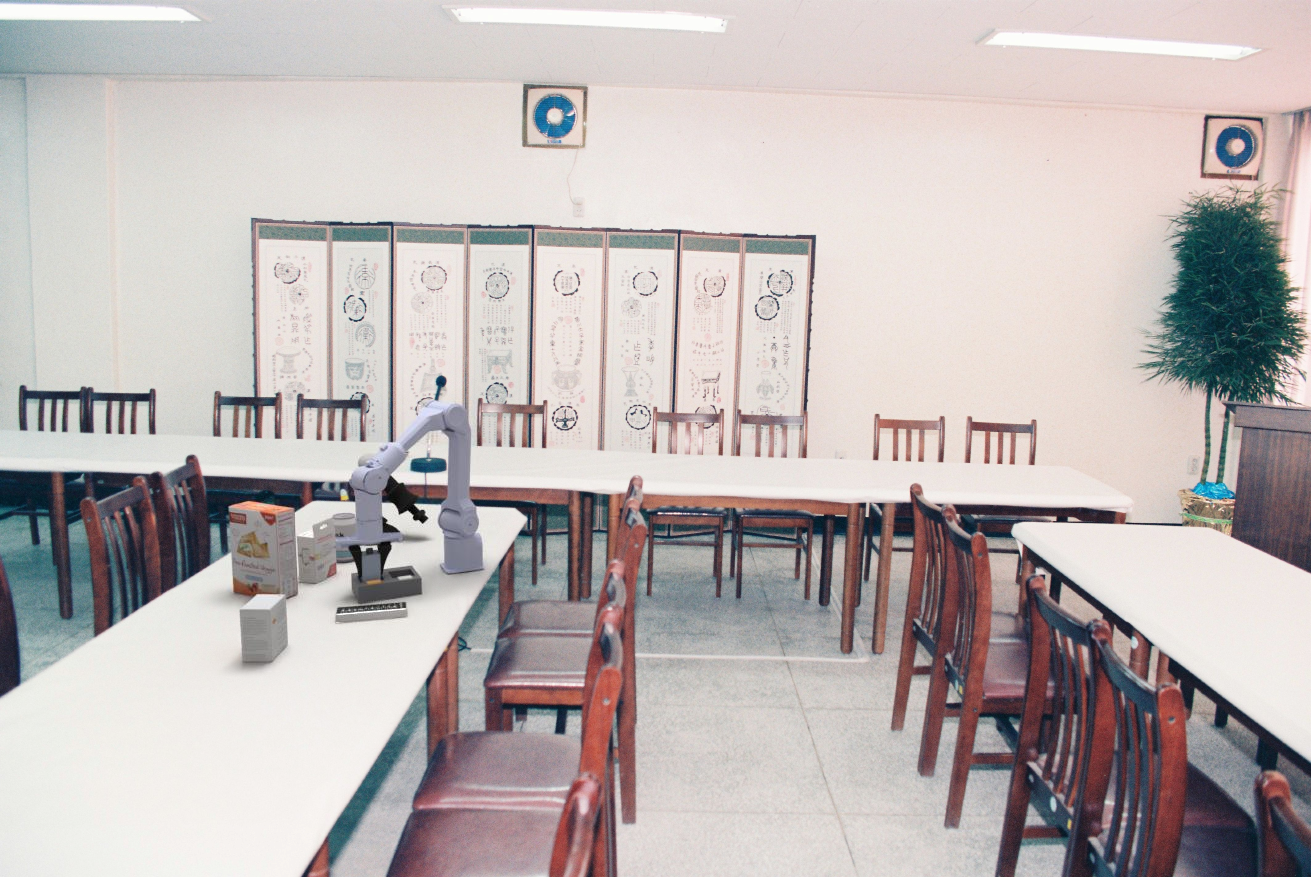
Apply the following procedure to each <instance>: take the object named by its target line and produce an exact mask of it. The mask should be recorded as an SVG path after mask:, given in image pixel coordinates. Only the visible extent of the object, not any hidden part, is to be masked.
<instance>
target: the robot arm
mask: <svg viewBox="0 0 1311 877" xmlns="http://www.w3.org/2000/svg"><path fill="white" fill-rule="evenodd" d="M434 431H436V432H437V431H441V432H442V433H443V434H444V435H445V436H447V437H448V454H447V455H448V457H447V458H448V460H447V492H446V493H447V495H446V498H445V499H444V500H443V501H442V502H441V504H440V512H439V514H438V516H437V525H438V527H439V529H441V530H442V534H443V552H444V554H443V556H444V557H443V559H444V560H443V562H441V563H439V566H440V567H441V568H442V570H443V571H444V572H445V573H446V574H449V575H450V574H457V573H464V572H471V571H472V572H473V571H480V570H484V565H483V563H484V561H483V560H484V559H483V558H484V557H483V552H484V550H483V549H484V548H483V547H484V545H483V539H482V535H481V533H479V532H477V531H478V529H479V524H480V520H479V517H478V513H477V506H476V505H475V504H474V501H472V500H471V499H470V489H471V488H470V486H471V482H470V481H471V458H472V457H471V452H472V451H471V450H472V429H471V426H470V423H469V410H467V409H466V408H465V407H464V406H463V405H462V404H460V403H458V402H457V403H456V402H454V403H451V402H447V401H446V402H445V401H439V400H435V399H433V400H429V401H428V402H426V403H425V404H424V406H423V407H421V408H420V409H419V411H418V415H417V416H416V417H415V418H414V420H413V421H412V422H411V423H410V424H409V425H408V427H407V428H406V429H405V430H404V431H403V433H402V434H400V436H399V437H398V438H397V439H396V440H395V441H394V442H386V443H385V444H382V445H381V446H379V450H378V451H377V452H376V453H374V454H375V455H374V456H373V457H372V458H371V459H370V460H368V461H367V462H366V464H365V466H362V467H359V466H358V467H356V468H355V469H354V470H353V472H352V473H351V476H350V478H349V479H348V482H349V485H350V487H351V488H352V489H353V491H354V492H353V494H354V496H355V497H354V499H355V500H354V501H355V502H354V504H355V506H354V507H355V517H356V536H351V537H346V538H341V539H335V542H336V549H342V548H347V547H348V549H349V551H350V553H351V555H352V557H353V559H354V560H353V561H354V564H355V567H356V571H357V572H358V576H359V578H360V577H362V551H363V550H362V548H361V547H363V546H365V545H369V546H375V545H374V544H377V545H376V546H377V550H378V552H379V553H380V565H381V575H383V569H385V565H386V562H387V560H388V556H389V555H390V552H391V551H392V548H393V547H392V546H393V545H392V543H403V542H404V534H403V533H402V532H401V531H400V532H398V533H383V528H382V516H383V494H382V492H383V491H384V489H385V487H386V485H387V480H388V478H389V476H390V475H391V476H392V474H393V473H394V472H395V471H396V470H397V469H398V468H399V467H400V466H401V465H402V464H403V463H404V462H405V461H406V459H407V458H406V457H407V456H406V453H407V452H408V451H409V450H410V449H411V448H413V446H415V445H416V444H417V443H419V441H420V440H421V439H422V438H424V436H426V435H427V434H429V432H434ZM357 572H356V573H357Z"/></svg>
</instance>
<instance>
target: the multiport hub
mask: <svg viewBox="0 0 1311 877" xmlns="http://www.w3.org/2000/svg"><path fill="white" fill-rule="evenodd" d="M334 614H335V615H334V616H335V623H336V622H344V623H353V621H355V622H364V621H365V622H366V621H376V620H386V619H387V620H388V619H398V618H406V617H408V602H407V601H398V602H386V603H374V604H362V605H360V604H359V605H352V606H351V605H350V606H349V605H348V606H337V607H336V609H335V613H334Z"/></svg>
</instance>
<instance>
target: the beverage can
mask: <svg viewBox="0 0 1311 877" xmlns="http://www.w3.org/2000/svg"><path fill="white" fill-rule="evenodd" d="M331 517H333V519H334V527H335V539H341V538H346V537H351V536H356V513H352V512H341V513H340V512H339V513H336V514H333V515H332V516H331ZM336 561H337V562H336V563H348V562H349V563H350V562H352V561H354V559H353V557H352V555H351V553H350V551H349V549H348V547H347V548H342V549H336Z"/></svg>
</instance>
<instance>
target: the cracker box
mask: <svg viewBox="0 0 1311 877" xmlns="http://www.w3.org/2000/svg"><path fill="white" fill-rule="evenodd" d="M295 516H296V515H295V508H294V507H290V506H289V507H287V506H281V505H280V506H279V505H275V504H268V503H264V502H263V503H262V502H257V501H250V500H248V501H244V502H240V503H235V504H232V505H229V506H228V517H229V518H228V519H229V520H228V521H229V522H228V523H229V533H230V534H229V536H230V537H229V539H230V553H231V554H230V556H231V557H230V558H231V568H232V569H231V572H232V573H231V574H232V575H231V576H232V586H233V587H232V588H233V589H232V590H233V592H234V593H237V594H241V595H246V596H251V597H255V596H256V595H257V594H281V595H286V600H287V599H290V598H291V597H294V596H296V595H299V588H298V587H299V584H298V583H299V581H298V580H299V579H298V565H297V564H298V556H297V536H296V517H295Z"/></svg>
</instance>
